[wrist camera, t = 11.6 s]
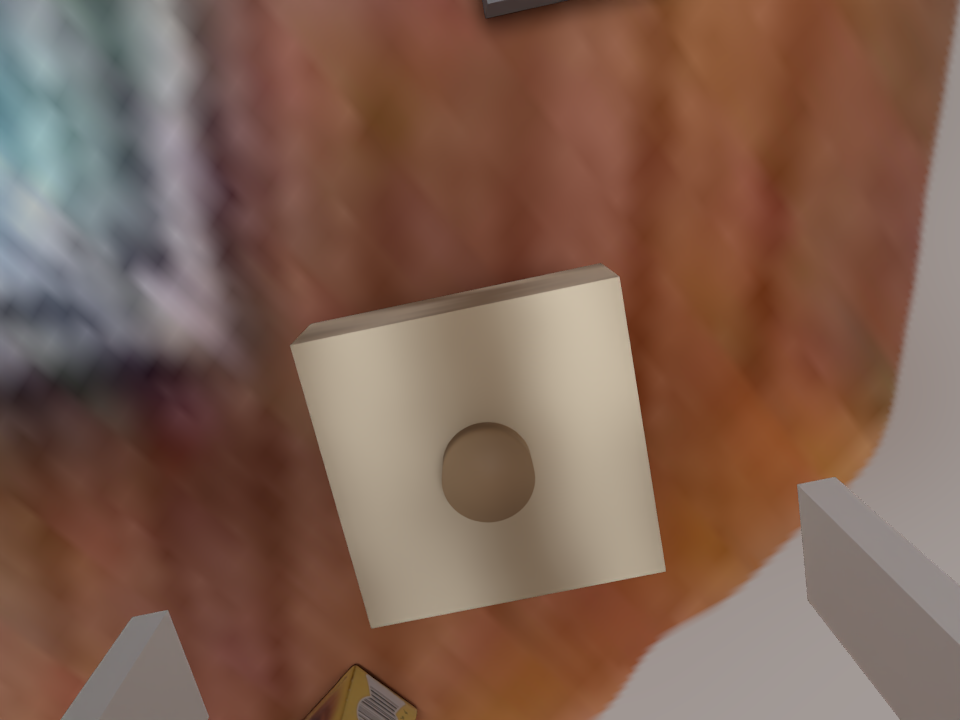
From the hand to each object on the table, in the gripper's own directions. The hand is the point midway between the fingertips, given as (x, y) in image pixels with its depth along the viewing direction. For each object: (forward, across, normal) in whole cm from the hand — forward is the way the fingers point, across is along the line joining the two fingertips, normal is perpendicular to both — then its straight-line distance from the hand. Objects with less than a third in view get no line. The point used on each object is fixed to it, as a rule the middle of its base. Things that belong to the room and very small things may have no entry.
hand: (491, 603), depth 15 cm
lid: (+11, 0, -1) cm, 11 cm away
